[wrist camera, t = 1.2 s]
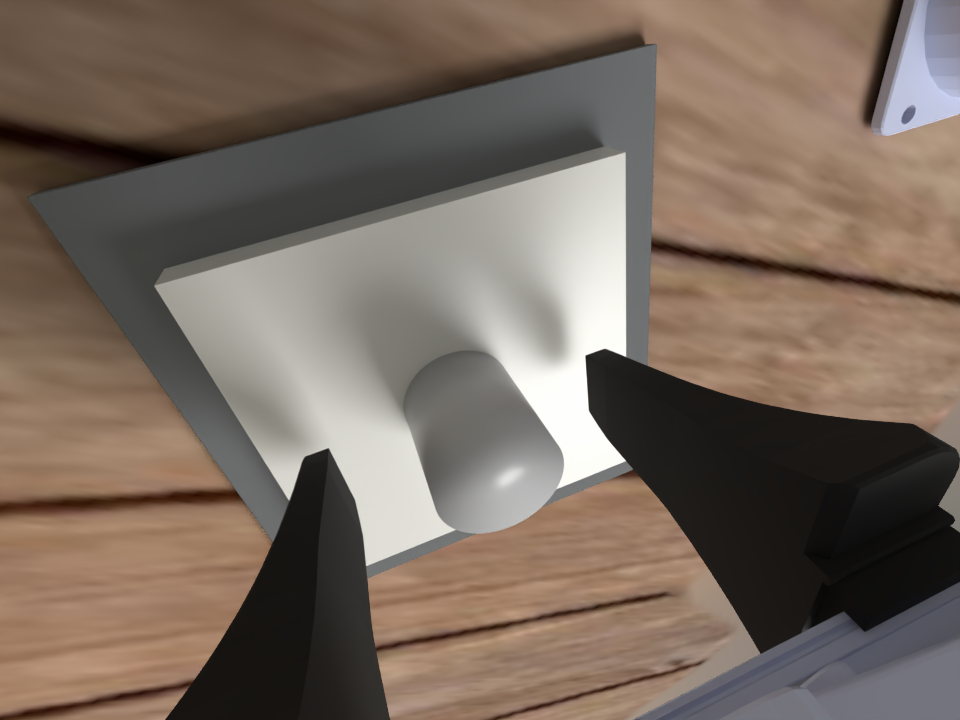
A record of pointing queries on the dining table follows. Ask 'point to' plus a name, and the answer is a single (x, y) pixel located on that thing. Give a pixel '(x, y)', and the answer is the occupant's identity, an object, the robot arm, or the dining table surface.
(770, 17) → the dining table surface
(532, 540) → the dining table surface
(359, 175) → the mat
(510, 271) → the lid
